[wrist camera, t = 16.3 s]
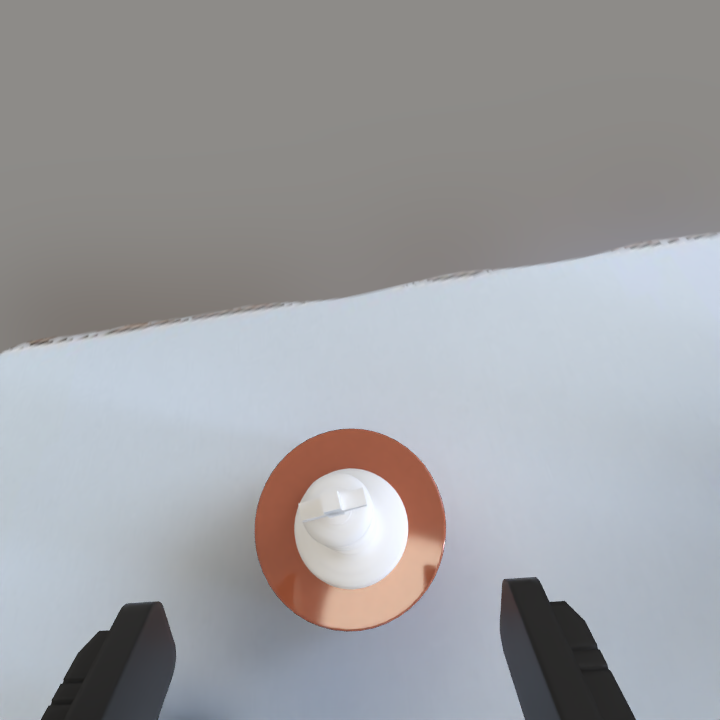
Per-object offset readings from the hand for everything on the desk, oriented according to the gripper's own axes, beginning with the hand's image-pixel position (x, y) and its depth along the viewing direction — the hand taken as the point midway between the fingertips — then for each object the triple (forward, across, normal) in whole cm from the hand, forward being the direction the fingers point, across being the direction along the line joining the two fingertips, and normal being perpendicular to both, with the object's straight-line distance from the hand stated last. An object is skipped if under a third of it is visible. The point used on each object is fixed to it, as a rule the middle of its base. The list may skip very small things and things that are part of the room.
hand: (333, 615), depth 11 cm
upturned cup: (+14, 0, +10) cm, 17 cm away
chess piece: (+8, 0, +5) cm, 10 cm away
